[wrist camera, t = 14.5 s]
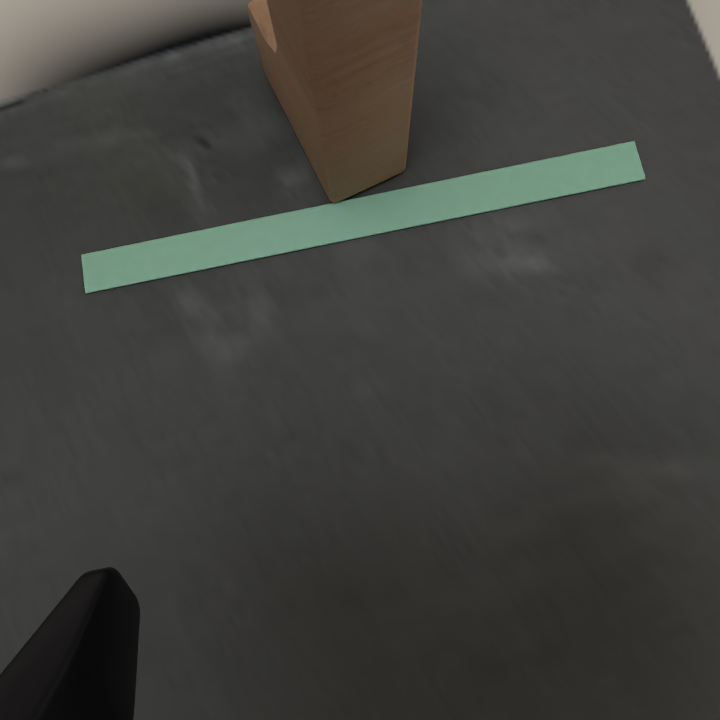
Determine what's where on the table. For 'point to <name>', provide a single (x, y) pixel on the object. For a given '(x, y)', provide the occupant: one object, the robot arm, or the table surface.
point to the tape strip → (362, 217)
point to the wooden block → (343, 82)
